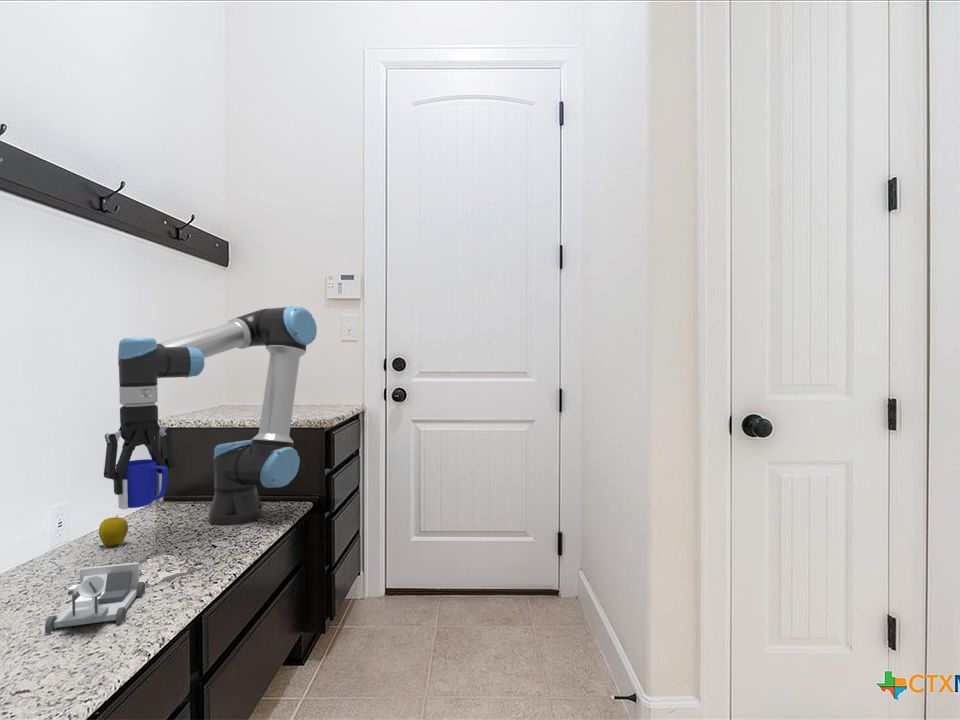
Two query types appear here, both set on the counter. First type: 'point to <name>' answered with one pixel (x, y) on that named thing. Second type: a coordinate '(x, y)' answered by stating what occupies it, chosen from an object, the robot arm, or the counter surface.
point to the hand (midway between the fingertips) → (141, 504)
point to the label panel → (165, 574)
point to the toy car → (100, 596)
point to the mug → (143, 482)
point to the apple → (113, 531)
